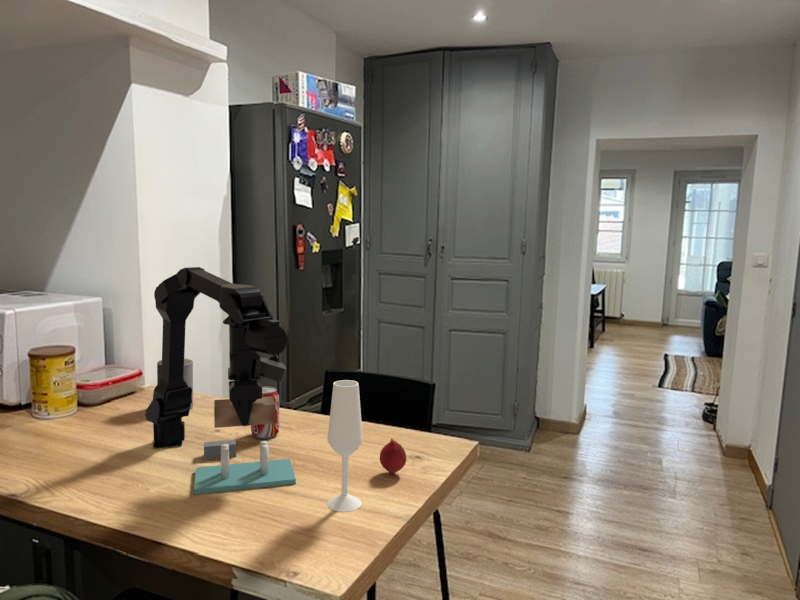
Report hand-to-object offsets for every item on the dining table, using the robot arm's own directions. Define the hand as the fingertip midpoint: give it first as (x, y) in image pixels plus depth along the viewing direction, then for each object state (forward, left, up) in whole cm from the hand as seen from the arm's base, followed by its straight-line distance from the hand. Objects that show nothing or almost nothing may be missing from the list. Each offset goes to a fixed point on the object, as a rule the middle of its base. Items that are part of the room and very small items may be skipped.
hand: (244, 420), depth 123 cm
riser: (-5, +14, -12) cm, 19 cm away
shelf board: (0, 0, 0) cm, 0 cm away
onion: (+31, -5, -13) cm, 34 cm away
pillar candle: (-17, +53, -13) cm, 57 cm away
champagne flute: (+18, -16, -13) cm, 28 cm away
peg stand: (0, 0, -12) cm, 12 cm away
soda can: (+6, +25, -13) cm, 28 cm away
